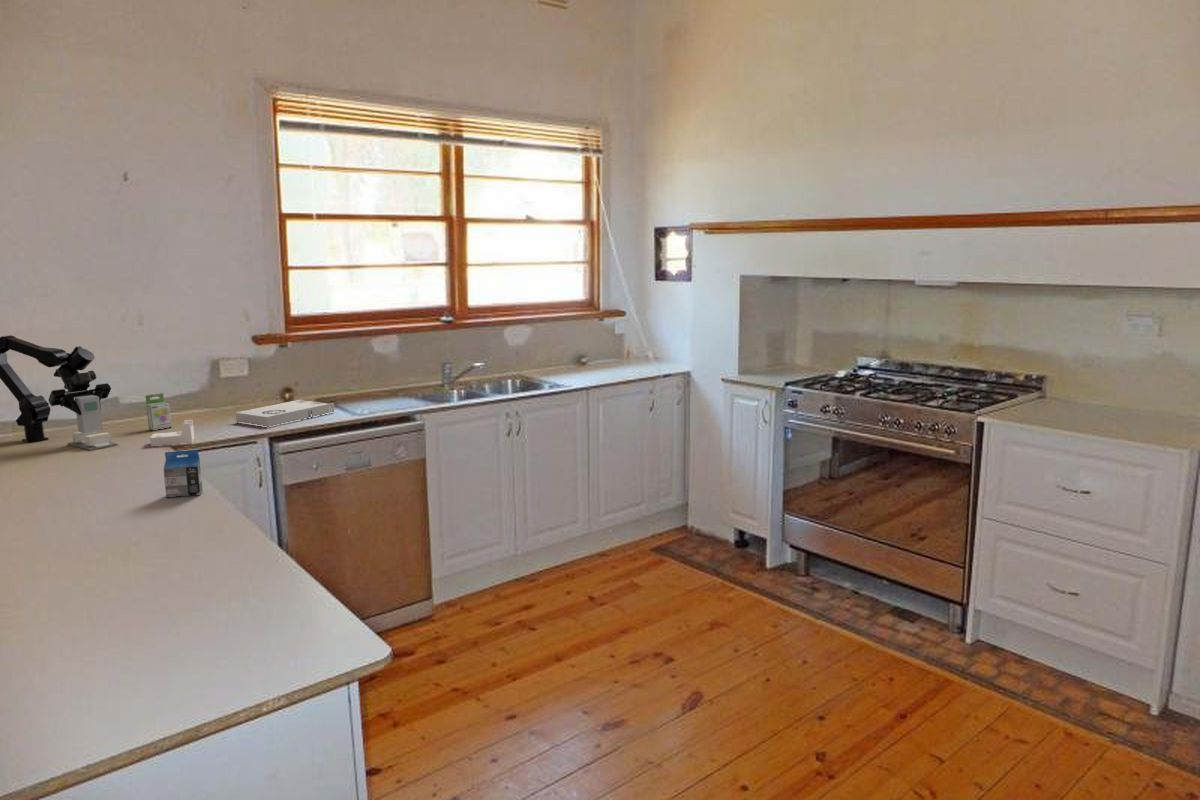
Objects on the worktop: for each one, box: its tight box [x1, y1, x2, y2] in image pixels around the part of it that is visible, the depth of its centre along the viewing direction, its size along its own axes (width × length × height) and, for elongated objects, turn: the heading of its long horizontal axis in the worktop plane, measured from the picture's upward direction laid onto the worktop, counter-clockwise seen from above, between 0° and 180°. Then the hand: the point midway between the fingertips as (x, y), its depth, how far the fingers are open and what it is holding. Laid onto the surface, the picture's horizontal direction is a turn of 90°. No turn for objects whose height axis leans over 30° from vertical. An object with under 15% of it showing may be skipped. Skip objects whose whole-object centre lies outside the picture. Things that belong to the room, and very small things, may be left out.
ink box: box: [145, 392, 173, 431], centre depth 318 cm, size 7×4×13 cm, turn 143°
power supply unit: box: [235, 398, 335, 427], centre depth 337 cm, size 19×33×5 cm, turn 149°
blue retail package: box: [163, 449, 203, 498], centre depth 232 cm, size 9×4×12 cm, turn 105°
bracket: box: [149, 419, 195, 447], centre depth 295 cm, size 13×7×8 cm, turn 109°
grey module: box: [74, 395, 104, 433], centre depth 292 cm, size 5×6×12 cm
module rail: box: [67, 431, 119, 452], centre depth 294 cm, size 17×9×4 cm, turn 55°
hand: (90, 412), depth 291 cm, fingers closed on grey module, 6 cm apart
